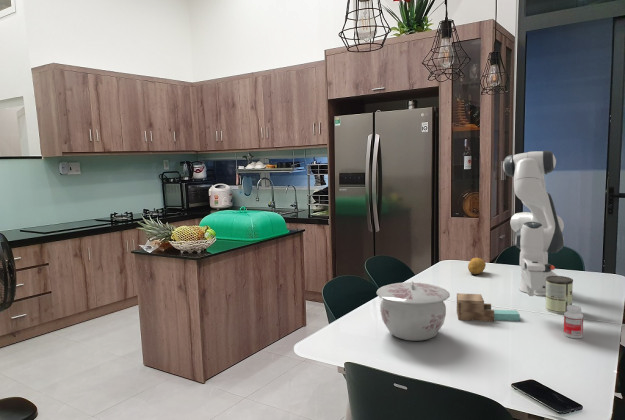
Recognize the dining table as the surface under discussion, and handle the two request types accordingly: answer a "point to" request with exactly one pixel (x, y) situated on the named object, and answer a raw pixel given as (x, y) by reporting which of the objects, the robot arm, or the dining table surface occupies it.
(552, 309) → the coffee can
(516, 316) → the teal rectangular block
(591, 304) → the dining table surface
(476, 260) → the potato
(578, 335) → the pill bottle
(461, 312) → the wooden stepped block
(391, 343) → the dining table surface
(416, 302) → the chamber pot
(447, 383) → the dining table surface
